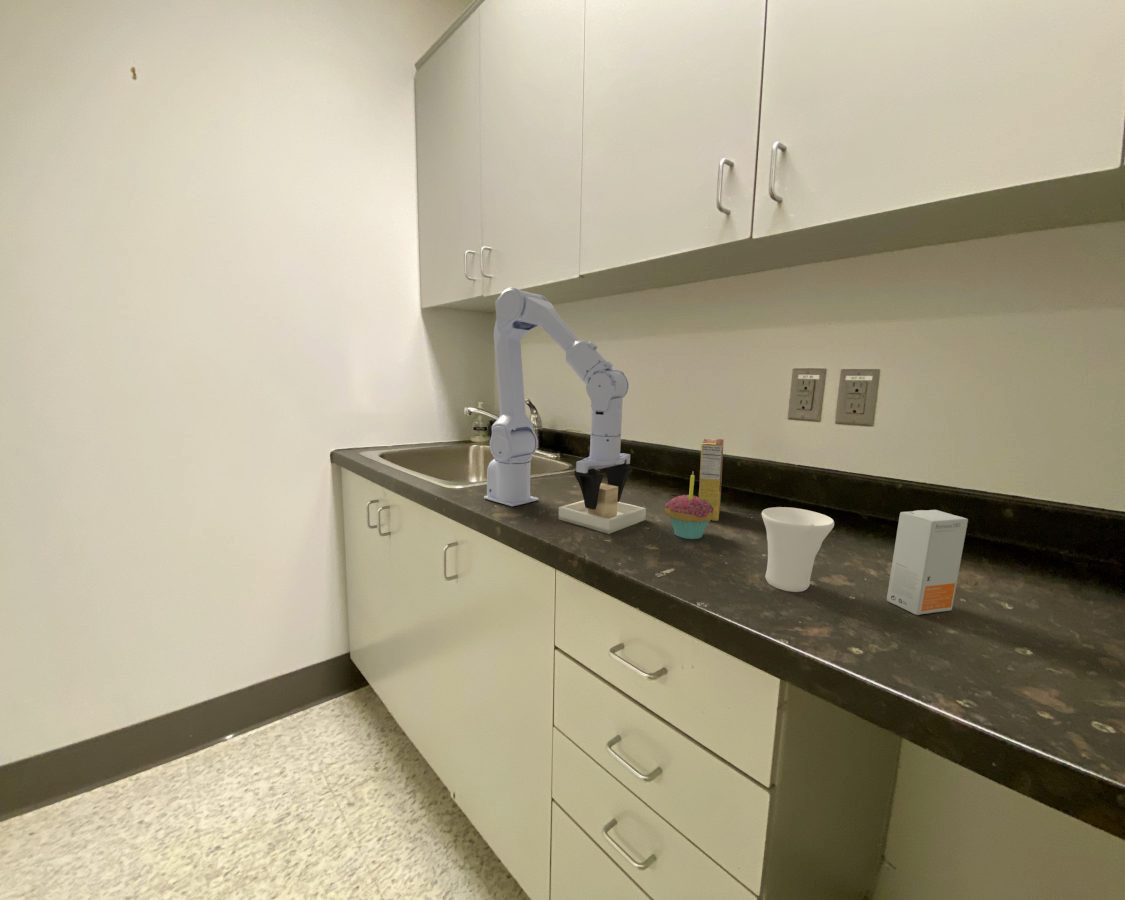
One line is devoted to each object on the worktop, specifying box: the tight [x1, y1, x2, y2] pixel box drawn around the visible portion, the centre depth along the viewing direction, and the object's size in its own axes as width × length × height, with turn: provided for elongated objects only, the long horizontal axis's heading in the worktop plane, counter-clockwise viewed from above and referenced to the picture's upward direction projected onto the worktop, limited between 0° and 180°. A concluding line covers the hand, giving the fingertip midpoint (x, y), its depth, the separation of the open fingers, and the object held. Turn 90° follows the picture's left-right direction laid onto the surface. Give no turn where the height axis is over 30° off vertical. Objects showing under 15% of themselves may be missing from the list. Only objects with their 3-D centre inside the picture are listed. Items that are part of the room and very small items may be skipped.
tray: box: [557, 499, 647, 535], centre depth 93 cm, size 12×12×2 cm
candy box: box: [698, 438, 725, 522], centre depth 98 cm, size 9×4×15 cm, turn 160°
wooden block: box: [588, 482, 618, 519], centre depth 93 cm, size 4×4×6 cm
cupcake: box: [664, 470, 714, 540], centre depth 85 cm, size 9×8×12 cm
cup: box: [761, 506, 835, 593], centre depth 66 cm, size 9×9×10 cm
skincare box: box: [886, 509, 969, 616], centre depth 60 cm, size 6×4×12 cm
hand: (602, 504), depth 93 cm, fingers open, 7 cm apart
